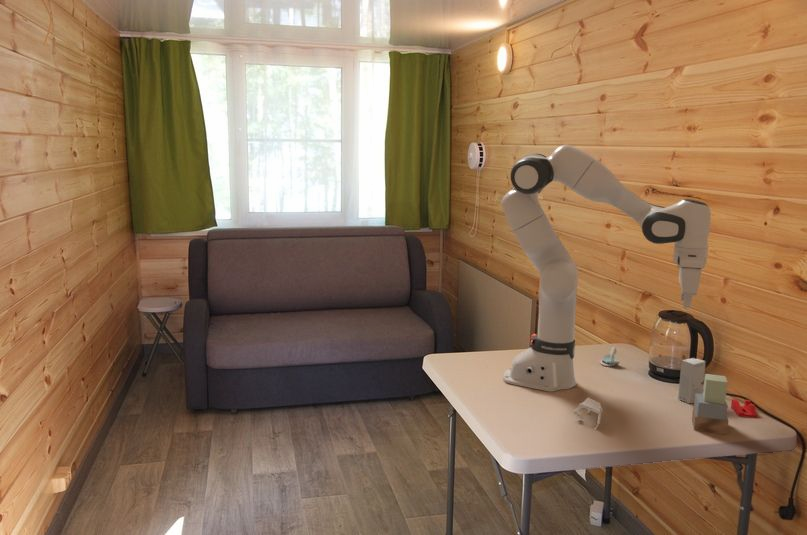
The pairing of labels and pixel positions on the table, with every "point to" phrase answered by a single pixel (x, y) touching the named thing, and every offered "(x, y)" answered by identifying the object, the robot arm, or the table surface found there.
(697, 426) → the tower base
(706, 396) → the sage block
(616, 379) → the table surface
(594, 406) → the origami figure
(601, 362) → the pacifier
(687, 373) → the skincare box
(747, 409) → the red irregular chunk
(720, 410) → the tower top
